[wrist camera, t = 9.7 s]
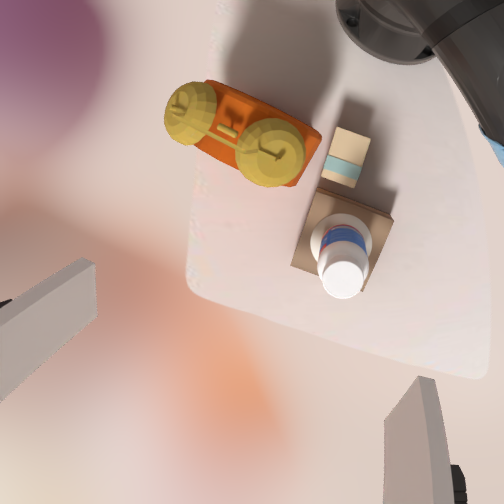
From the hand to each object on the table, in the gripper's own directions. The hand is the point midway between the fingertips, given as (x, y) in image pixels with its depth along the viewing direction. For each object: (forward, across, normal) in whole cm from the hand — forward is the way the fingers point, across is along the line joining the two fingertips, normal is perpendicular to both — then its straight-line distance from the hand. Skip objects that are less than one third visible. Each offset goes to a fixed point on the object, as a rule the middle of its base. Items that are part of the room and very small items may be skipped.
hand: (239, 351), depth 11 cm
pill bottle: (+29, +5, -5) cm, 30 cm away
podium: (+32, +5, -5) cm, 32 cm away
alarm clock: (+32, -8, +6) cm, 33 cm away
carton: (+32, +2, +5) cm, 32 cm away
